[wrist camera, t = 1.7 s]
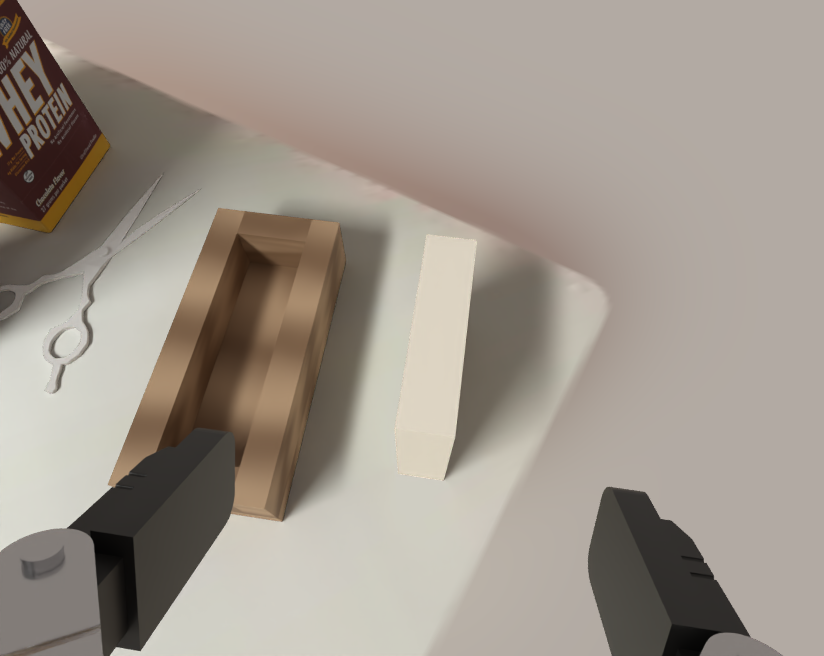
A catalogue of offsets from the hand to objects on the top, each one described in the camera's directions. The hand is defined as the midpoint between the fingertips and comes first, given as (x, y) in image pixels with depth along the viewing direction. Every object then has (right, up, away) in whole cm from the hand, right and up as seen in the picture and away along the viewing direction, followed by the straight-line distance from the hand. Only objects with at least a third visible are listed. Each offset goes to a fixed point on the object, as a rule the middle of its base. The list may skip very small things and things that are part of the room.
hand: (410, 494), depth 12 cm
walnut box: (-11, +1, +27) cm, 29 cm away
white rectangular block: (+2, -1, +26) cm, 26 cm away
